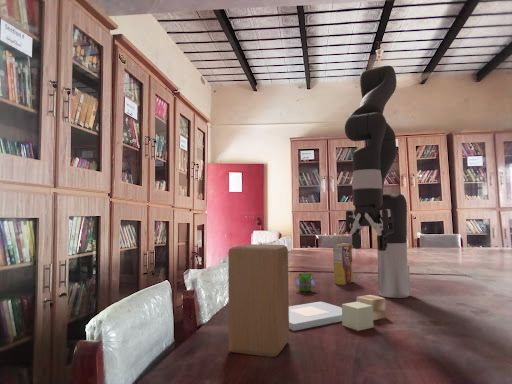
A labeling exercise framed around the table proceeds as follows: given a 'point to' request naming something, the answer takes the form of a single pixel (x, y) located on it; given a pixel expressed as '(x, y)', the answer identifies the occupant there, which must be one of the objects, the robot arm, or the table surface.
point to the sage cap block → (357, 315)
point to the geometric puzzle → (305, 282)
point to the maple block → (374, 305)
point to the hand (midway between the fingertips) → (368, 249)
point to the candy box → (342, 263)
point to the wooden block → (258, 299)
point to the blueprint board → (313, 315)
